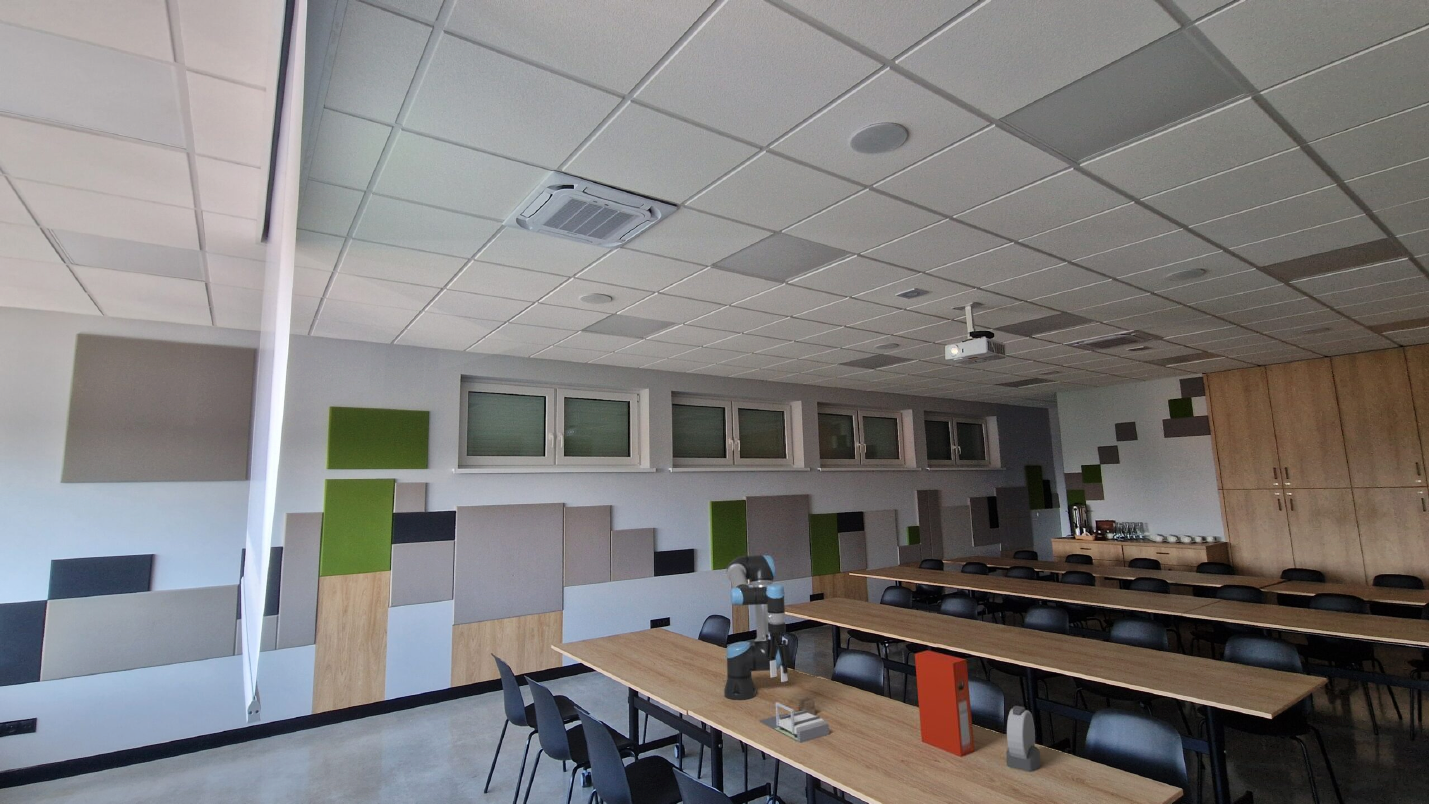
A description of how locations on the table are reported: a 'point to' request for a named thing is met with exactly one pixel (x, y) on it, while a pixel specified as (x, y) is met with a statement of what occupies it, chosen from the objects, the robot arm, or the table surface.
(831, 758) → the table surface
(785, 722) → the white tray
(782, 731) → the grey holder base
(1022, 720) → the grey two-tone upright device
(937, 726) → the file binder
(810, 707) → the block
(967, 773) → the table surface
